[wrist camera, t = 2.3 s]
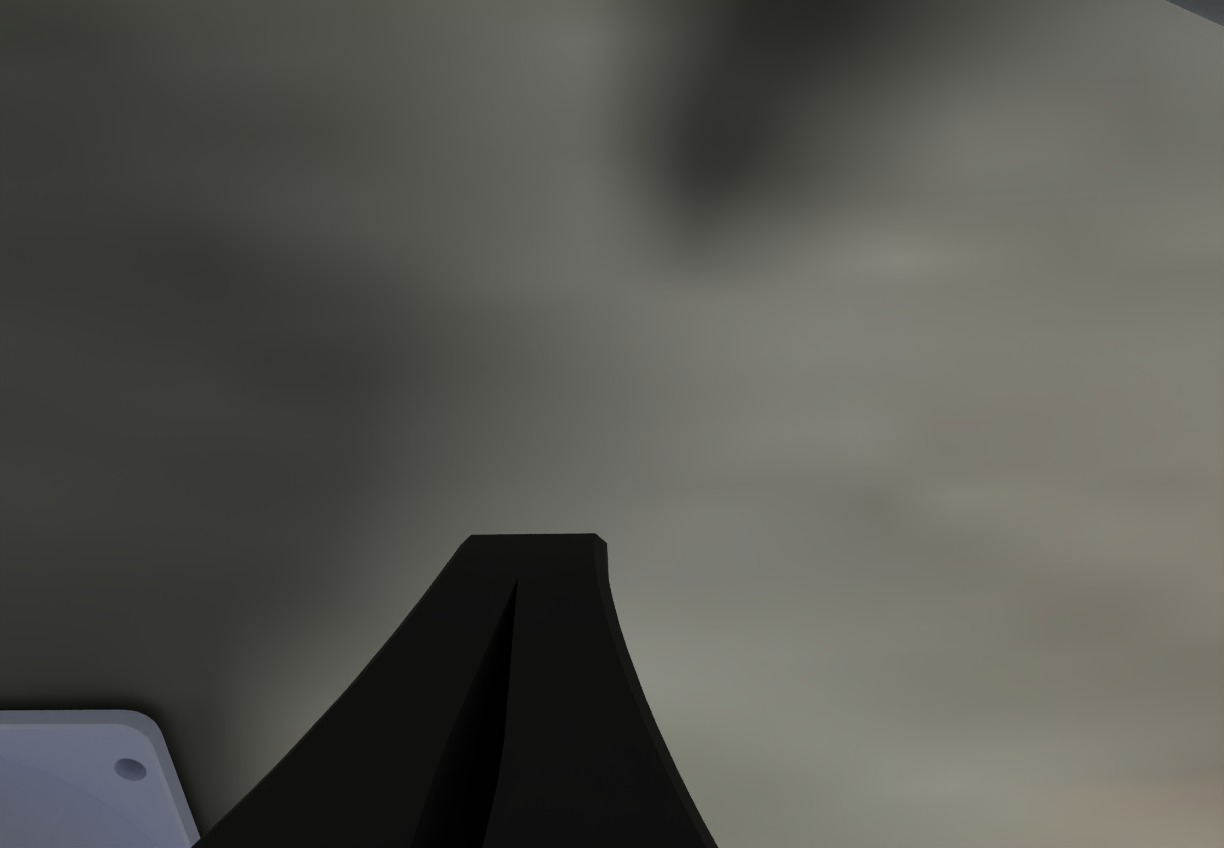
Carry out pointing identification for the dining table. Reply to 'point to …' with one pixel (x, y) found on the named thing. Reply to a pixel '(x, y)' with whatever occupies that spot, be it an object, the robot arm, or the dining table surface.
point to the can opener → (1204, 8)
